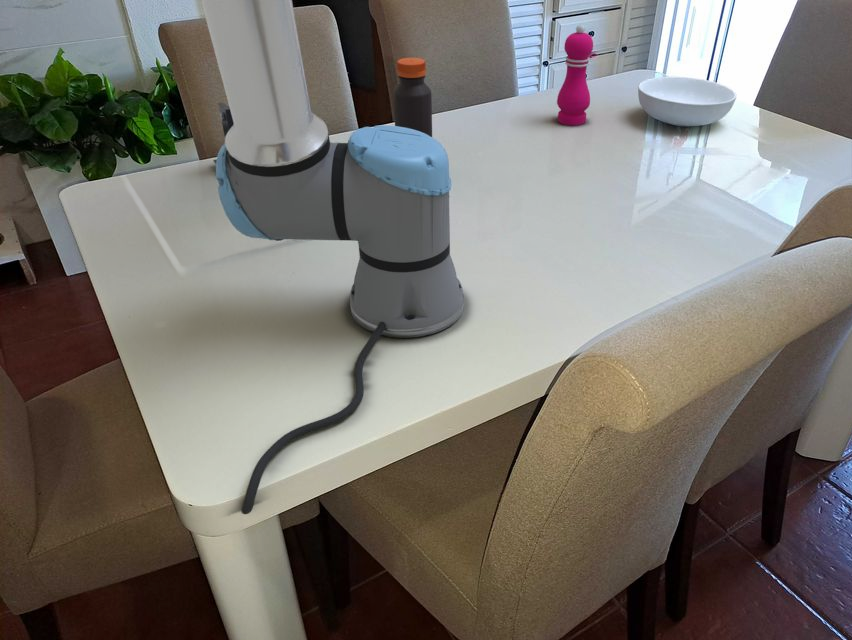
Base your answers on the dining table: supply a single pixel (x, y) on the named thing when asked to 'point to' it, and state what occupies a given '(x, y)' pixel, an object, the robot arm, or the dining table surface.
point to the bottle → (413, 96)
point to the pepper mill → (575, 79)
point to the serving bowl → (685, 100)
